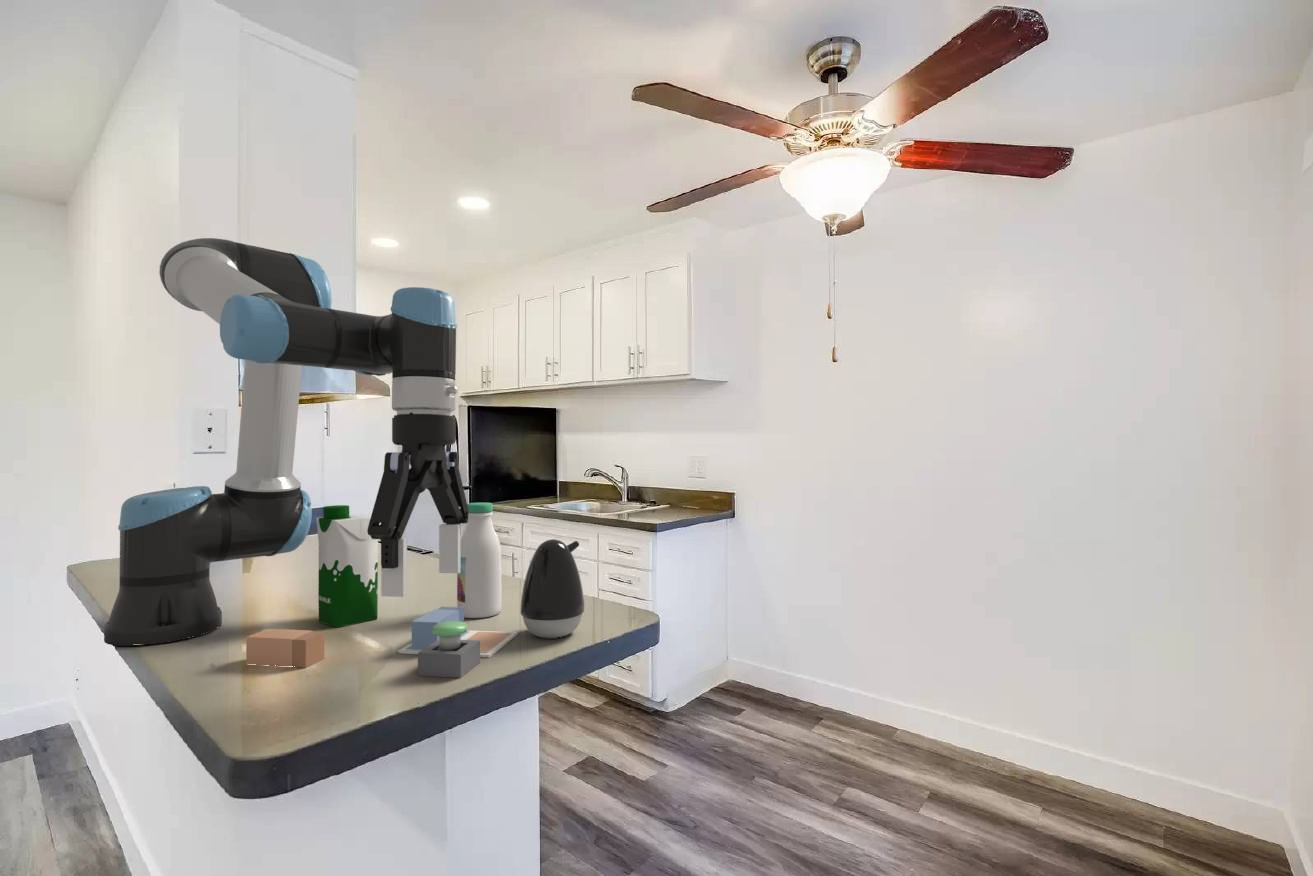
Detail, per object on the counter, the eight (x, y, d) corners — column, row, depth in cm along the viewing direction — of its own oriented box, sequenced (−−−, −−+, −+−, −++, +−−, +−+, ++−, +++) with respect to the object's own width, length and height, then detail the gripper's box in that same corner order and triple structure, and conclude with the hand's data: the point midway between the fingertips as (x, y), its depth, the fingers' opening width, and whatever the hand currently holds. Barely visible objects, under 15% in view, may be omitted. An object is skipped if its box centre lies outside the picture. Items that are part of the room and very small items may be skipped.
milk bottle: (507, 608, 117) (507, 501, 118) (492, 620, 110) (492, 505, 110) (467, 607, 118) (467, 501, 118) (449, 619, 110) (450, 504, 111)
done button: (426, 651, 84) (426, 629, 84) (442, 640, 88) (442, 620, 88) (457, 652, 83) (457, 631, 83) (472, 642, 87) (472, 622, 87)
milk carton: (310, 621, 109) (311, 505, 110) (363, 610, 116) (363, 502, 117) (332, 630, 104) (333, 508, 104) (386, 619, 111) (386, 505, 111)
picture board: (398, 653, 92) (398, 649, 92) (435, 631, 103) (435, 628, 103) (489, 657, 90) (489, 654, 90) (517, 635, 101) (517, 631, 101)
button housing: (417, 675, 83) (417, 652, 83) (439, 660, 89) (439, 638, 89) (460, 677, 82) (460, 654, 82) (480, 662, 88) (480, 640, 88)
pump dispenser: (598, 633, 102) (598, 539, 102) (546, 648, 94) (546, 546, 94) (559, 621, 109) (559, 533, 109) (507, 634, 101) (507, 539, 101)
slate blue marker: (437, 649, 92) (437, 622, 92) (411, 648, 92) (411, 621, 93) (464, 632, 101) (464, 607, 101) (441, 631, 101) (441, 606, 101)
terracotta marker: (246, 666, 87) (246, 637, 87) (268, 656, 91) (268, 628, 91) (305, 669, 86) (305, 639, 86) (324, 659, 90) (324, 631, 90)
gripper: (397, 406, 66) (397, 609, 66) (492, 418, 91) (492, 565, 91) (332, 407, 67) (331, 607, 67) (443, 418, 92) (443, 564, 92)
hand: (424, 583), depth 79 cm, fingers open, 13 cm apart
